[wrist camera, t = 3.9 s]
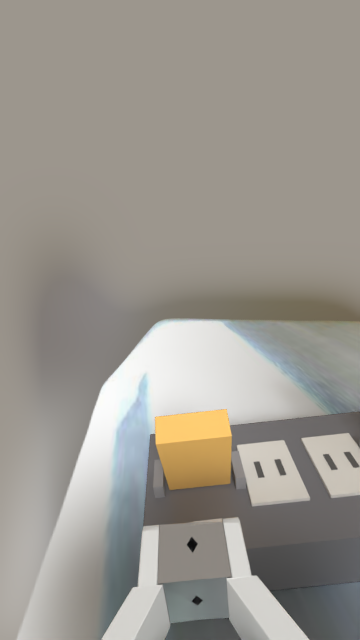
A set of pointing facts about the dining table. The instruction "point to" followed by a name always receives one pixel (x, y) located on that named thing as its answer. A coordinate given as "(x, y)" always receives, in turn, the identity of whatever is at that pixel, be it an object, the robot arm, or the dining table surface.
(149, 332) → the dining table surface
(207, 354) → the dining table surface
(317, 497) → the power box
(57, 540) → the dining table surface
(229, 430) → the switch
